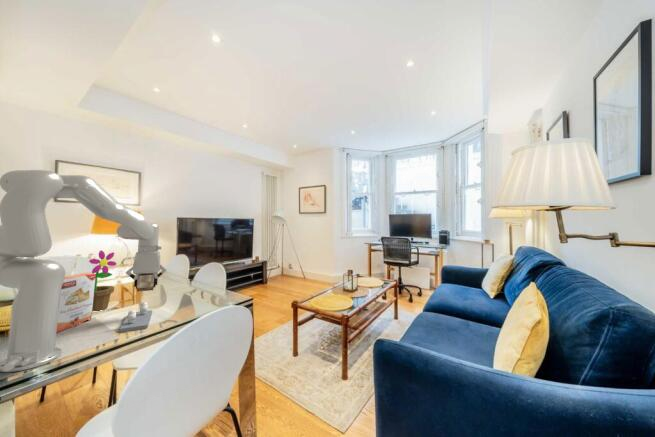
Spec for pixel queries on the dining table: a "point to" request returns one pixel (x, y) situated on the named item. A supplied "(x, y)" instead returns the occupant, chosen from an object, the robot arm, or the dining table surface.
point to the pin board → (137, 319)
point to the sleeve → (145, 282)
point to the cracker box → (75, 300)
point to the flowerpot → (102, 292)
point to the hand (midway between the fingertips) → (145, 287)
